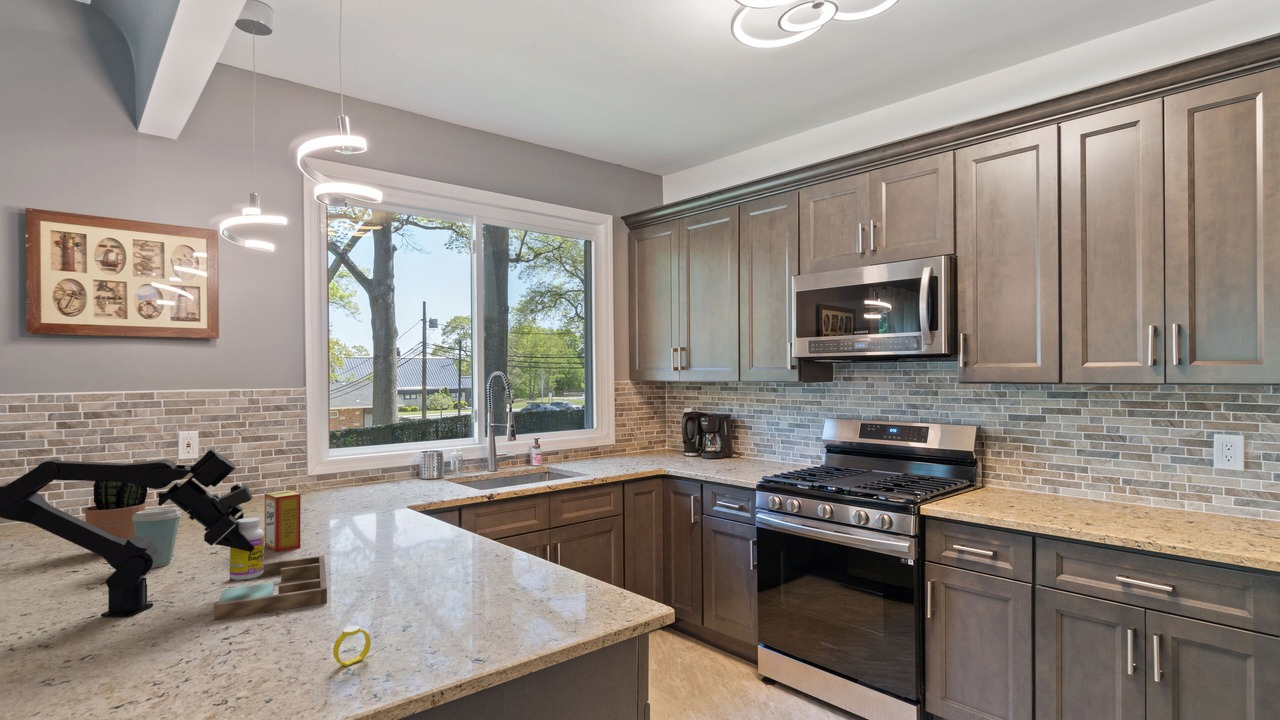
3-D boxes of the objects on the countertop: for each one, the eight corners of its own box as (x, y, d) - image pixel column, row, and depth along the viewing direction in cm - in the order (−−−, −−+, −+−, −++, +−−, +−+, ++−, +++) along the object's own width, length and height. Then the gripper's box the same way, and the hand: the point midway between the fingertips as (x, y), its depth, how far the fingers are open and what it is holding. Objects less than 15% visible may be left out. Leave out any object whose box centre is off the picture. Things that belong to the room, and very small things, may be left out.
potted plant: (91, 560, 176) (92, 469, 176) (78, 552, 184) (79, 465, 185) (152, 549, 187) (152, 463, 187) (137, 542, 195) (137, 460, 196)
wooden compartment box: (213, 620, 131) (213, 605, 131) (229, 579, 158) (229, 567, 158) (326, 602, 141) (326, 588, 141) (324, 566, 168) (324, 555, 168)
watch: (365, 654, 114) (365, 621, 114) (373, 659, 112) (372, 624, 113) (331, 666, 110) (331, 631, 110) (338, 671, 108) (338, 635, 108)
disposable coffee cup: (123, 567, 169) (123, 510, 169) (168, 557, 178) (169, 503, 179) (144, 573, 164) (144, 514, 164) (190, 562, 173) (190, 506, 174)
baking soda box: (300, 547, 187) (300, 492, 187) (276, 552, 182) (276, 495, 183) (288, 542, 193) (288, 489, 194) (264, 546, 189) (264, 492, 189)
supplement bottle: (247, 581, 143) (248, 523, 143) (222, 579, 144) (223, 522, 145) (270, 572, 150) (271, 517, 150) (246, 570, 151) (247, 516, 151)
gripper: (223, 481, 138) (281, 527, 142) (232, 470, 154) (284, 511, 159) (178, 521, 134) (239, 567, 138) (192, 505, 150) (246, 547, 155)
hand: (254, 546), depth 148 cm, fingers closed on supplement bottle, 7 cm apart
